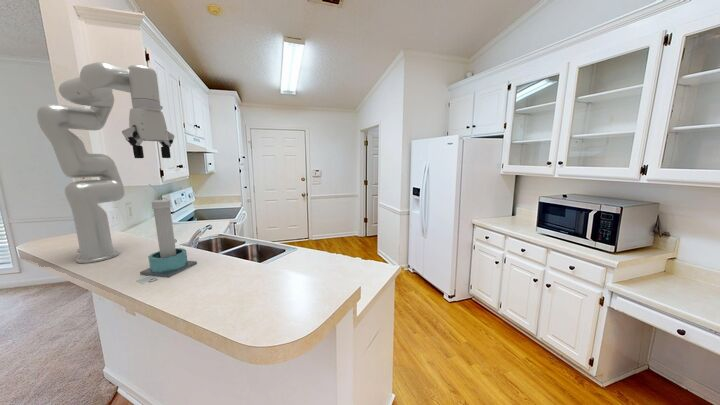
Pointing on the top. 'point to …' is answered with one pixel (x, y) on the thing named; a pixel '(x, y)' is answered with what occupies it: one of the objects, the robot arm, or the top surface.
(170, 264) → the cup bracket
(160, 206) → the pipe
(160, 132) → the robot arm
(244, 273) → the top surface
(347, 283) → the top surface
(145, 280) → the mounting bracket
